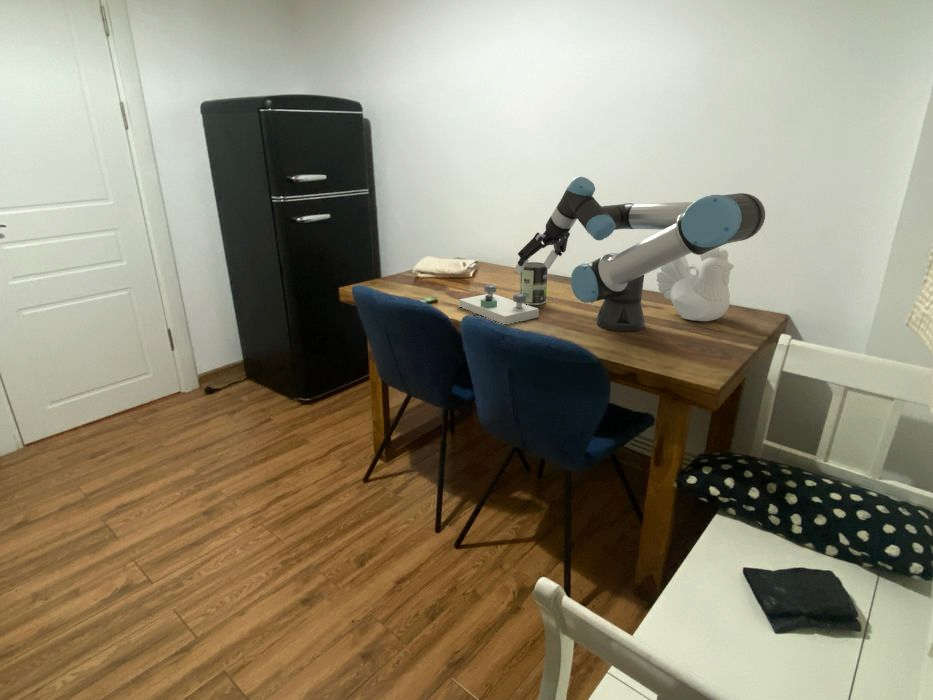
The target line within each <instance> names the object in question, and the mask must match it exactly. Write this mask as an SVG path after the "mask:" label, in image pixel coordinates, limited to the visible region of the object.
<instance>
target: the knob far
mask: <svg viewBox="0 0 933 700" xmlns="http://www.w3.org/2000/svg"><path fill="white" fill-rule="evenodd" d="M483 287H484V288H483V290H484V293H486V294H488V295H492V299H493V294H495V293H497V286H496V285H495V284H487V285H484V286H483Z"/></svg>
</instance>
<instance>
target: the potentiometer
mask: <svg viewBox="0 0 933 700" xmlns="http://www.w3.org/2000/svg"><path fill="white" fill-rule="evenodd" d="M481 306H483V307H486V308H491V307H495V306H497V300H494V299H492V295H486V296H485V299H483V300H481Z"/></svg>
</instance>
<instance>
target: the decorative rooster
mask: <svg viewBox="0 0 933 700" xmlns="http://www.w3.org/2000/svg"><path fill="white" fill-rule="evenodd" d="M699 257H700V260H701V263H700V266H699V265H697V264H690V265H689V262H688V258H687V255H685V256H683V257H681V258H679V259H677V260H675V261H672V262H670V263H668V264H666V265H664V266H662V267H659V270H658V272H657V273H656V282H658V283H657V286H658V290H659V293H661V294H663V297H664V298H665V299H667V300H669V301H671V303H672V305H673V307H674V309H675V311H676V313H678V314H679V316H680V317H681V318H682V319H684V320H689V321H699V322H710V321H714V320H718V319H720V318H721V317H723V315H724V314H726V312H727V311H728V309H729V307H730V303H731V299H730V298H731V294H730V290H729V283H730V275H731V270H733V269H734V267H735V265H734V264H732V263H730V262H729V259H728V258H729V252H728V251H727V250H726V249H723V248H722V249H721V248H720V247H718V248H715V249H713V250H711V251H709V252H706V253H704V254H702V255H699ZM692 269H693V270H695V272H696V273H695V274H693V273H692V271H691V270H692Z"/></svg>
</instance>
